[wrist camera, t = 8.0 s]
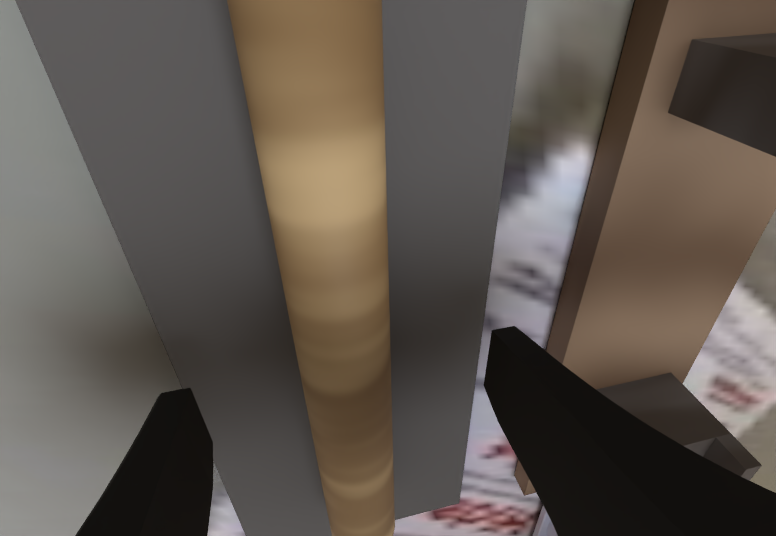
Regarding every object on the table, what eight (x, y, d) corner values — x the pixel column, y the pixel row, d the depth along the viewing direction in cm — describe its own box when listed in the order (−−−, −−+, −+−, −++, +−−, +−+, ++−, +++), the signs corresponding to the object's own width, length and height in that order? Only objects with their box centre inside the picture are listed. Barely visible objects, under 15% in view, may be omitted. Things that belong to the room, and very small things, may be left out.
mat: (454, 490, 21) (459, 503, 21) (255, 541, 19) (254, 556, 19) (551, -324, 7) (573, -344, 7) (-128, -382, 6) (-162, -413, 5)
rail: (388, 487, 18) (400, 550, 16) (328, 498, 18) (333, 564, 16) (367, -73, 8) (394, -79, 6) (222, -71, 8) (201, -74, 6)
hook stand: (625, 446, 23) (704, 553, 19) (514, 475, 22) (573, 594, 18) (979, -288, 9) (1583, -479, 5) (714, -311, 8) (1211, -582, 4)
